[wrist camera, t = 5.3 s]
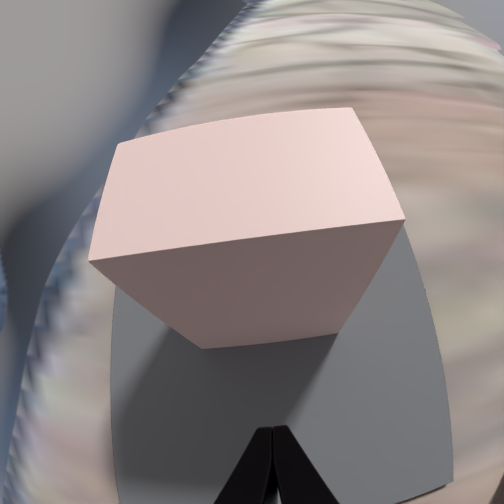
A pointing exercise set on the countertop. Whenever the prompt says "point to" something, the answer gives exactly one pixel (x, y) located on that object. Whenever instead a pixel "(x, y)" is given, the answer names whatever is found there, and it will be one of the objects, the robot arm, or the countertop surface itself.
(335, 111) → the blush block
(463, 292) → the countertop surface
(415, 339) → the charcoal mat
